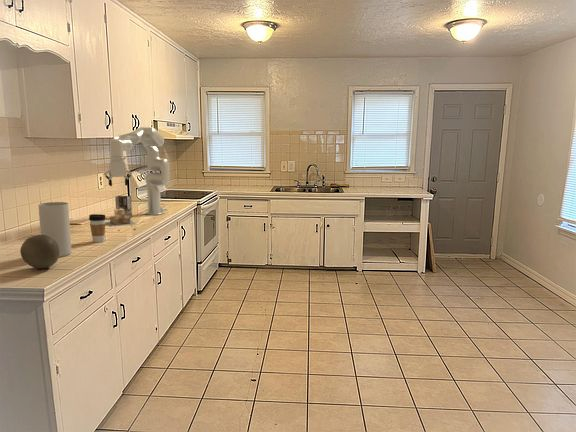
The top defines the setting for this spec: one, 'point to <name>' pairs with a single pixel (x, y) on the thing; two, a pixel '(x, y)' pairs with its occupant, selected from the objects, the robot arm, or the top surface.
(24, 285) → the top surface
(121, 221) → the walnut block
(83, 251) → the top surface
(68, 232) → the cylinder vase
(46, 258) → the cantaloupe
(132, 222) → the board
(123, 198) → the coffee box
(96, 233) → the coffee cup
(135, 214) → the top surface
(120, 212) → the oak cube
